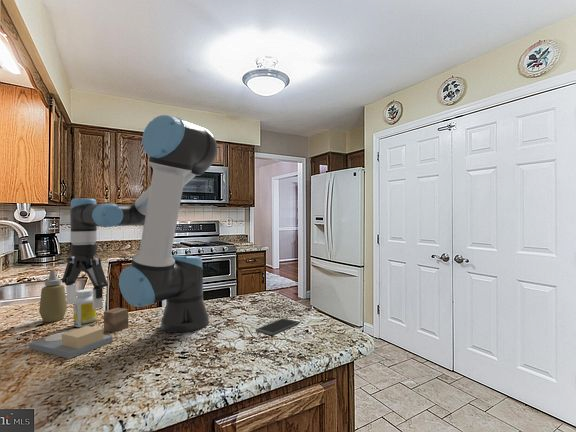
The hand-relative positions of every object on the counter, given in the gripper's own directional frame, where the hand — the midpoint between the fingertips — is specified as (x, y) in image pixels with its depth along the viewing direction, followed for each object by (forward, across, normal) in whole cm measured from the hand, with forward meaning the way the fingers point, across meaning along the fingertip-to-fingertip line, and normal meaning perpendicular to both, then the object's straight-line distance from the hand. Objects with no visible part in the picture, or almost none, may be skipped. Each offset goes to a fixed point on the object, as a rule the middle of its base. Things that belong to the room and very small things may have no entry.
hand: (84, 305), depth 107 cm
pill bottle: (+7, -1, 0) cm, 7 cm away
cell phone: (+6, -64, -21) cm, 67 cm away
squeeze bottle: (+7, +15, +1) cm, 17 cm away
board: (+6, -15, +13) cm, 20 cm away
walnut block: (+6, -15, -1) cm, 16 cm away
